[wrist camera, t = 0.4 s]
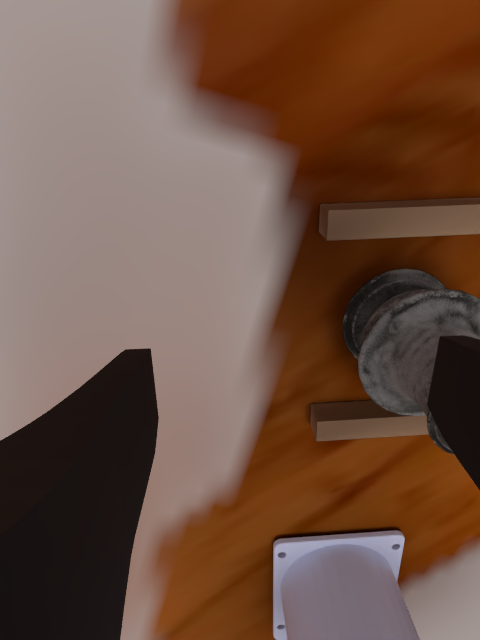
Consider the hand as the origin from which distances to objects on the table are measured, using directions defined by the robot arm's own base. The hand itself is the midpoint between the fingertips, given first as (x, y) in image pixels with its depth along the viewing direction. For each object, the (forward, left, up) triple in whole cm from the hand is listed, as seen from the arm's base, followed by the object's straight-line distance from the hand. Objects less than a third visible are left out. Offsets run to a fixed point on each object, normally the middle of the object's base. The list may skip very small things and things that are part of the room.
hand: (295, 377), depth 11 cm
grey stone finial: (-3, -7, -10) cm, 12 cm away
